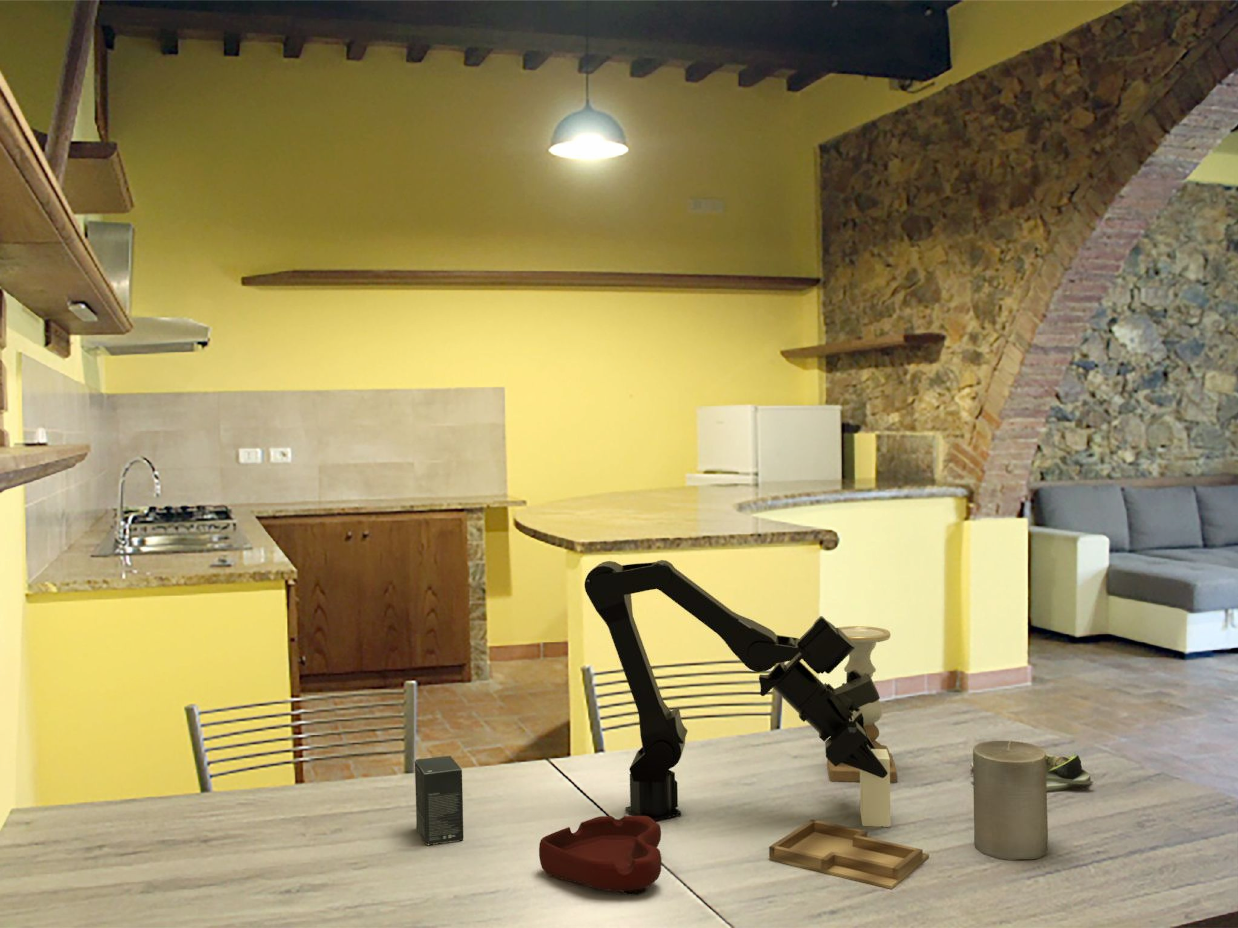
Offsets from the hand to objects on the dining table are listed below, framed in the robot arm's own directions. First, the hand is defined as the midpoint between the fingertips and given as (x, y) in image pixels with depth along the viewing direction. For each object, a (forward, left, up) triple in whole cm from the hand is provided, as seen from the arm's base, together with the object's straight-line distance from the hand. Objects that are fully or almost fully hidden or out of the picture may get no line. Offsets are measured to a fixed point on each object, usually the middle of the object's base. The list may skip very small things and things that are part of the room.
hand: (884, 769), depth 170 cm
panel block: (-1, +1, -8) cm, 8 cm away
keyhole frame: (-14, -9, -8) cm, 18 cm away
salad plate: (+34, +3, -8) cm, 35 cm away
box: (-59, +30, -8) cm, 66 cm away
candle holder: (+12, +20, -8) cm, 25 cm away
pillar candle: (+7, -17, -8) cm, 20 cm away
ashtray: (-45, +5, -8) cm, 46 cm away
